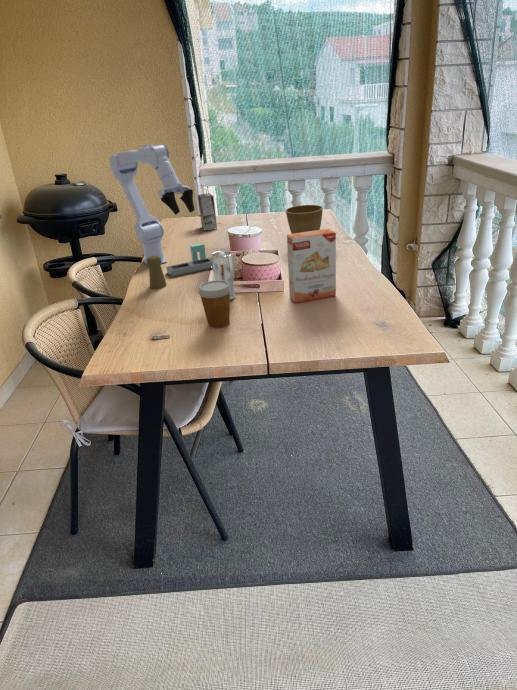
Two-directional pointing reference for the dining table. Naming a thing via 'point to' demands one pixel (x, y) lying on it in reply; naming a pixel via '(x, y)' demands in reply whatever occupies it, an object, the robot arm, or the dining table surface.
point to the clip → (200, 249)
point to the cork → (156, 272)
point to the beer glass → (224, 268)
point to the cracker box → (312, 265)
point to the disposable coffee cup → (216, 302)
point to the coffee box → (207, 211)
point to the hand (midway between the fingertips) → (185, 212)
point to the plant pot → (304, 218)
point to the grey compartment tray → (189, 267)
